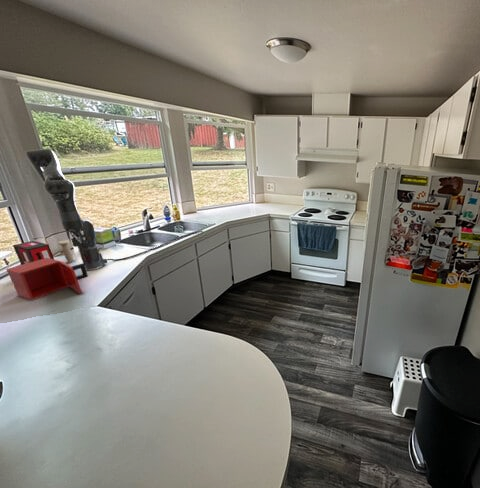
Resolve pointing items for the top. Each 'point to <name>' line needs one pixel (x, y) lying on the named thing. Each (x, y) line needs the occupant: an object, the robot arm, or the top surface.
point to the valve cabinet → (38, 278)
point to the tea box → (104, 237)
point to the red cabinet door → (73, 275)
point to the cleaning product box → (32, 251)
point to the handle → (66, 250)
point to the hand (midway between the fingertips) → (80, 247)
